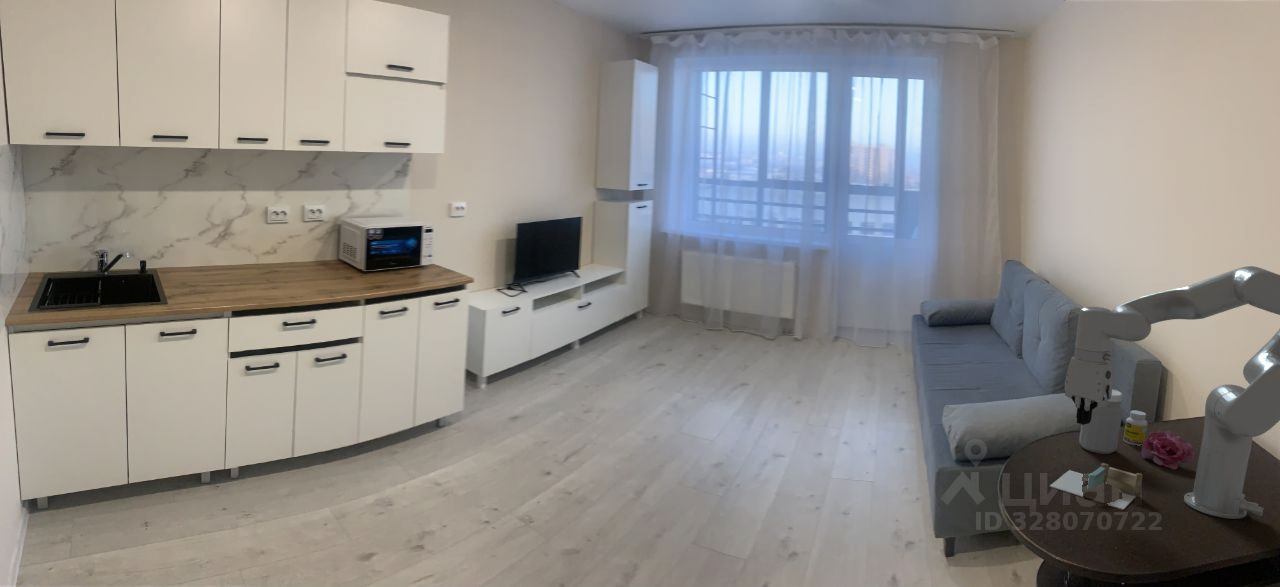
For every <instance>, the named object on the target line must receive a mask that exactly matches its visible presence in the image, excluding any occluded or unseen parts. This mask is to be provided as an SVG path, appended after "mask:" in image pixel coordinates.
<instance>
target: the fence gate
mask: <svg viewBox="0 0 1280 587" xmlns="http://www.w3.org/2000/svg"><path fill="white" fill-rule="evenodd" d="M1105 472H1106V468H1103V467H1101V466H1099V467H1098V468H1097V469H1096V470H1094V471H1093V472H1091V473H1089V474H1088V476H1089V478H1088V485H1087V489H1088V488H1090V489H1093V488H1094V487H1096V486H1098V485H1100V484H1102V483H1103V482H1104V476H1105Z"/></svg>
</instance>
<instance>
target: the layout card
mask: <svg viewBox="0 0 1280 587" xmlns="http://www.w3.org/2000/svg"><path fill="white" fill-rule="evenodd" d="M1083 474H1084V473H1080V472H1078V471H1073V470H1070V469H1069V470H1068V471H1066V472H1065V473H1064V474H1063V475H1061V476H1060V477H1059V478H1058V479H1056V480H1055V481H1053V483H1051V484H1050V485H1049V488H1053V489H1056V490H1059V491H1062V492H1065V493H1069V494H1072V495H1074V496H1078V497H1081V498H1084V497H1083V492H1082V485H1083V481H1082V477H1083ZM1122 497H1123V498H1122V499H1118V500H1116V501H1115V502H1110V503H1107V504H1108V505H1107V506H1110V507H1113V508H1116V509H1119V510H1121V511H1122V510H1123V511H1124V510H1125V509H1126V508H1127V507H1128V506H1129V504H1131V503H1132V501H1133V500H1135V498H1137V497H1136V496H1135V495H1133V494H1129V493H1126V492H1123V491H1122Z"/></svg>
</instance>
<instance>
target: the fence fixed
mask: <svg viewBox="0 0 1280 587" xmlns="http://www.w3.org/2000/svg"><path fill="white" fill-rule="evenodd" d="M1100 467H1103V468H1106V472H1105V476H1104V483H1106V484H1110V485H1112V486H1114V487H1116V488H1118V489H1120V490H1121V491H1123V492H1126V493H1129V494H1133V495H1135V496H1136V497H1135V498H1139V497H1140V493H1141V488H1142V482H1143V473H1141V472H1140V473H1138V472H1136V474H1135V473H1132V472H1130V471H1125V470H1122V469H1119V468H1118V469H1117V468H1114V467H1111V466H1109V464H1107V463H1104V462H1102V463H1101V465H1100ZM1106 481H1107V482H1106Z"/></svg>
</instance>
